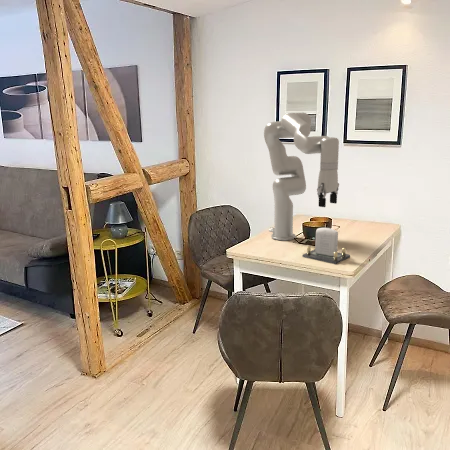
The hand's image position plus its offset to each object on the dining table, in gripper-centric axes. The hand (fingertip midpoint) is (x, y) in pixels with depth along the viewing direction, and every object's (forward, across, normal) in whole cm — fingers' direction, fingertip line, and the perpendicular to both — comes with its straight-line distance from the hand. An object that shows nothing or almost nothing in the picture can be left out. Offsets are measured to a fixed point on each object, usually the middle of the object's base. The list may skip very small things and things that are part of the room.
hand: (327, 204), depth 209 cm
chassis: (+24, 0, 0) cm, 24 cm away
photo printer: (+23, 0, 0) cm, 23 cm away
